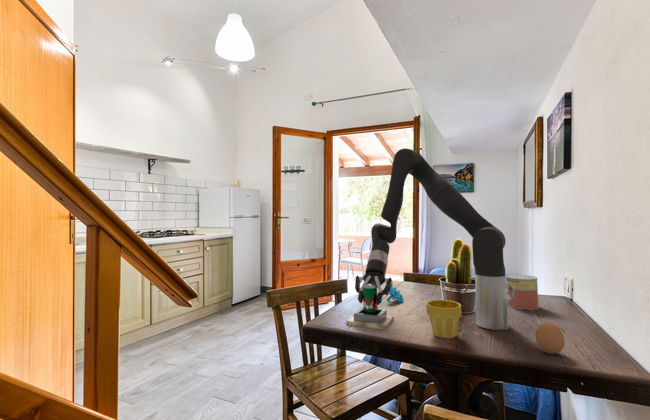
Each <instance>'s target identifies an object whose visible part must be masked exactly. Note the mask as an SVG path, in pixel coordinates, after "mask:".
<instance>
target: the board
mask: <svg viewBox="0 0 650 420" xmlns="http://www.w3.org/2000/svg"><path fill="white" fill-rule="evenodd" d="M394 319H395V317H394V315H390V314H389V315H388V314H387V317H386V318H385V319H384V320H383V321H382V322H381V324H376V323H368V322H360V321H354V314H353V315H351V317H349V318H348V319H347V320H346V321H345V322H346V325H347V326H355V327H361V328H362V327H364V328H369V329H370V328H371V329H379V330H385V331H386V330H387V329H388V328H389V327H390V325H391V324H392V323H393V321H394Z"/></svg>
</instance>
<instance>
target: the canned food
mask: <svg viewBox="0 0 650 420" xmlns="http://www.w3.org/2000/svg"><path fill="white" fill-rule="evenodd" d="M505 278H506V300H507V307H510V308H513V309H516V308H517V310H522V309H529V310H528V311H531V310H530V309H536V310H538V309H539V308H538V307H539V292H538V291H539V288H538V277H537V276H532V275H526V274H507V275H506V274H505ZM537 308H538V309H537Z"/></svg>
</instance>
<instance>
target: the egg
mask: <svg viewBox="0 0 650 420" xmlns="http://www.w3.org/2000/svg"><path fill="white" fill-rule="evenodd" d="M535 342H536V344H537V346H538V347H539V349H541V350H542V351H543V352H545V353H546V354H549V355H556V354H559V353H560V352H561V351H562V350H563V349H564V347H565V342H566V341H565V337H564V333H563V332H562V330H561V329H560V327H559V326H558V325H556V324H555V323H554V322H551V321H545V322H542V323H541V324H539V326H538V327H537V329H536V331H535Z"/></svg>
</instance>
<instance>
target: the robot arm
mask: <svg viewBox="0 0 650 420" xmlns="http://www.w3.org/2000/svg"><path fill="white" fill-rule="evenodd" d="M408 175H410V176H412V177H413V178H415V180H417V181H418V182H419V183H420V185H421V186H422V187H423V189H424V191H425V193H426V195H427V197H428V198H429V200H430V201H431V202H432V203H433V204H434V205H435V206H436V208H438V210H440V211H441V212H442V213H443V214H444V215H446V216H447V217H448V218H449V219H451V220H452V221H454V222H456V224H458V225H460V226H461V227H463V229H465V231H467V233H468V234H469V236H470V237H472V247H471V248H472V263H473V267H474V278H475V280H474V281H475V282H474V283H475V288H474V289H475V321H476V322H475V323H476V325H477V327H481V328H483V329H488V330H495V331H496V330H497V331H501V330H507V331H508V330H509V327H508V326H509V325H508V323H509V321H508V319H509V318H508V306H507V295H506V267H505V262H504V248H505V246H506V237H505V234H504V233H503V232H502V230H500V229H499V228H498V227H496V226H495V225H493V224H492V223H491V222H489V221H488V220H487V219H486V218H484V216H482V215H481V214H480V213H479V212H478V211H477V210H476V209H475V208H474V207H473V205H472V204H471V203H470V202H469V201H468V200H467V198H465V197H464V196H463V194H461V193H460V191H459V190H457V189H456V188H455V187H454V186H453V185H452V184H451V183H450V182H449V181H447V180H446V179H445V178H444V177H443V176H442V175H440V174H439V173H438V172H437V171H435V169H434V168H433V167H432V166H431V165H430V164H429V162H427V160H426V159H425V158H424V156H423V155H422V154H421V153H420V152H418V150H414V149H411V148H407V147H406V148H400V149H399V150H397V151H396V153H395V154H394V156H393V162H392V166H391V173H390V179H389V185H388V190H387V193H386V198H385V201H384V204H383V208H382V210H381V213H380V217H381V219H382V220H385V221H387V222H388V223H389V224H390V226H389V225H387V224H383V223H379V222H378V223H375V224H373V226H372V227H371V230H370V231H371V232H370V233H371V242H372V243H371V244H372V245H371V248H370V249H371V251H370V253H369V256H368V259H367V264H366V268H365V272H364V274H363V276H359V275H356V276H355V283H354V289H355V292H356V293H357V294H358V295H357V301H358V302H359V304H363V286H364V284H366V283H373V284H376V287H377V299H376V303H377V305H378V306H379V305H381V304H382V300H383V297H384V296H389V295H390V294H389V293H390V292H389V291H390V289H391V286H392V285H393V283H394V282H393V279H392V278H391V277H388V278H386V272H387V268H388V262H389V260H388V259H389V254H390V248H391V247H390V245H389V244H393V243H394V242H395V241H396V239H397V226H398V219H399V216H400V212H401V210H402V208H403V202H404V186H405V183H406V179H407V177H408ZM362 281H363V283H362ZM384 283H385V286H384V289H382V285H383V284H384ZM361 284H362V285H361Z"/></svg>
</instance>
